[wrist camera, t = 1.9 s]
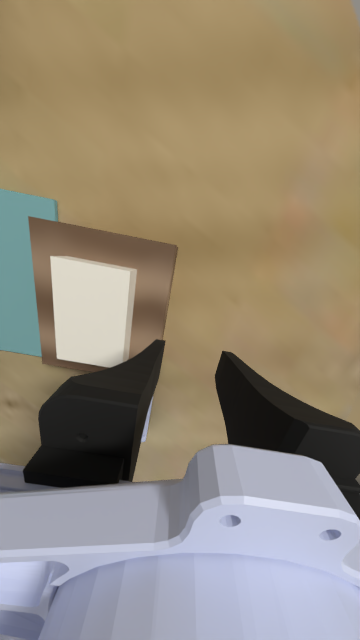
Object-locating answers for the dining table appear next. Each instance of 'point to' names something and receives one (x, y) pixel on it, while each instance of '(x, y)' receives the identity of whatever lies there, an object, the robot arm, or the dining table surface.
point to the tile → (92, 310)
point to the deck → (107, 248)
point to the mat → (19, 271)
